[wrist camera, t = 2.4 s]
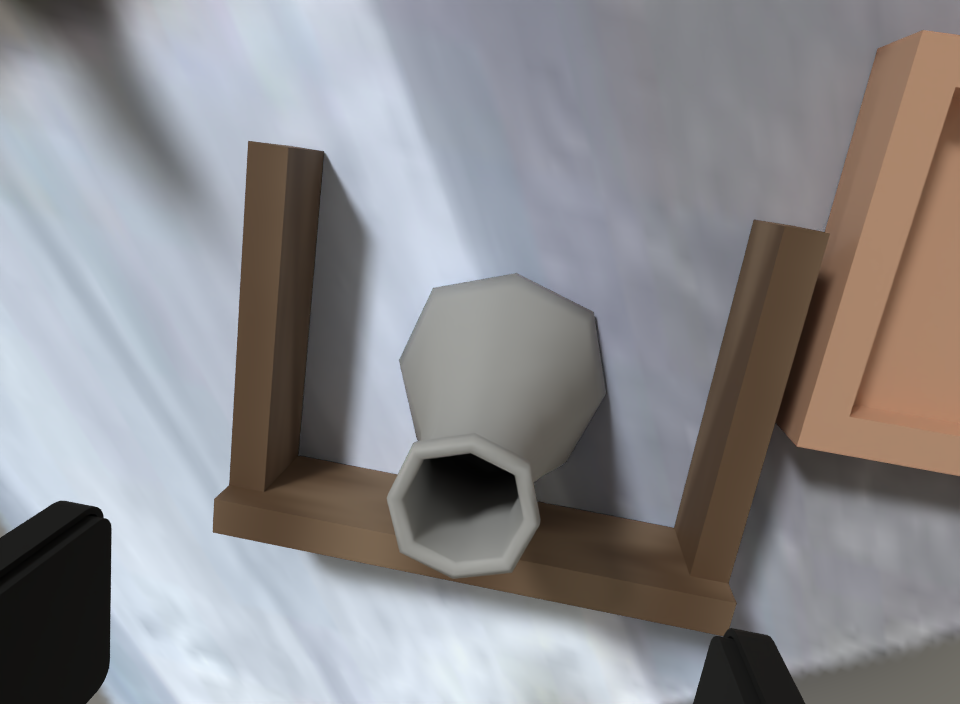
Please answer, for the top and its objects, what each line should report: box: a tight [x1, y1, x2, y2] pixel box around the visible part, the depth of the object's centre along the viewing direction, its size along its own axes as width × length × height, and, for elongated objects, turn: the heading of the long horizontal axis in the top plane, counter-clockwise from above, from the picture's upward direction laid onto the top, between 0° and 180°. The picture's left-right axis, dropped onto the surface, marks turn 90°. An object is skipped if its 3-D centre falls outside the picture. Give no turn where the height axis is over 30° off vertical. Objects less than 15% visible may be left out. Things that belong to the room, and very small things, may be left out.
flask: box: [387, 273, 606, 579], centre depth 18 cm, size 7×7×10 cm
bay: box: [213, 141, 830, 636], centre depth 21 cm, size 16×12×4 cm
